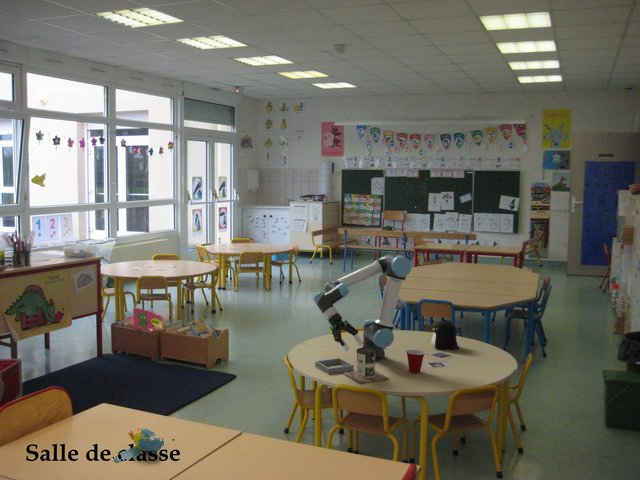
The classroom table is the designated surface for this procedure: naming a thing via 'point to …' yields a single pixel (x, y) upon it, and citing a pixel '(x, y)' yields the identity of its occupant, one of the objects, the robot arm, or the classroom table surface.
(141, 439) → the blue toy bird
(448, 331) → the penguin
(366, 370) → the coffee can
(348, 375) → the walnut board
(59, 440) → the classroom table surface
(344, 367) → the grey tub
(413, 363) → the plastic cup
